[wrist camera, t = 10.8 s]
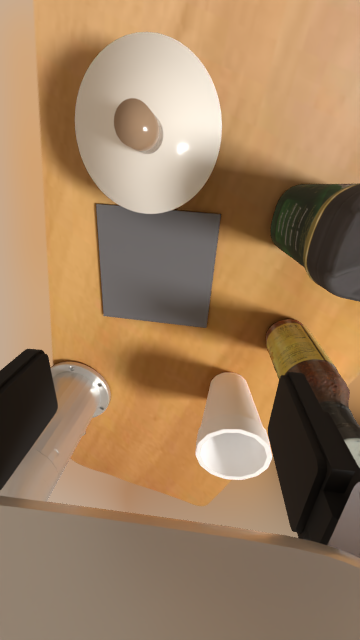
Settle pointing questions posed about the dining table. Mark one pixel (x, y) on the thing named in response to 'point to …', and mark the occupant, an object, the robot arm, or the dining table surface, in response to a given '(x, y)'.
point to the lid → (148, 123)
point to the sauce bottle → (314, 375)
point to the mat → (157, 264)
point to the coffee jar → (322, 234)
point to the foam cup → (232, 431)
